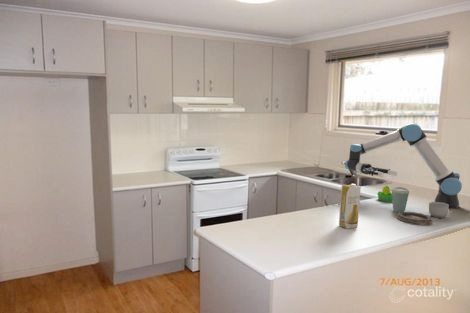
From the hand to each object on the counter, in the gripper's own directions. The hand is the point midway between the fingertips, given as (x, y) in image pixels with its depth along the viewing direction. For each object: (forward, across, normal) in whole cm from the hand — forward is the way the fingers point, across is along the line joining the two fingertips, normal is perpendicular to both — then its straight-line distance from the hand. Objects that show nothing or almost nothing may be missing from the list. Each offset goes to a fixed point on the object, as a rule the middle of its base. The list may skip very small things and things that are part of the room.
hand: (389, 174), depth 244 cm
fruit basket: (-14, -17, -23) cm, 32 cm away
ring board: (+26, +8, -22) cm, 35 cm away
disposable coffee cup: (+10, 0, -22) cm, 24 cm away
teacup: (+26, -14, -22) cm, 37 cm away
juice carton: (+19, +54, -23) cm, 62 cm away
